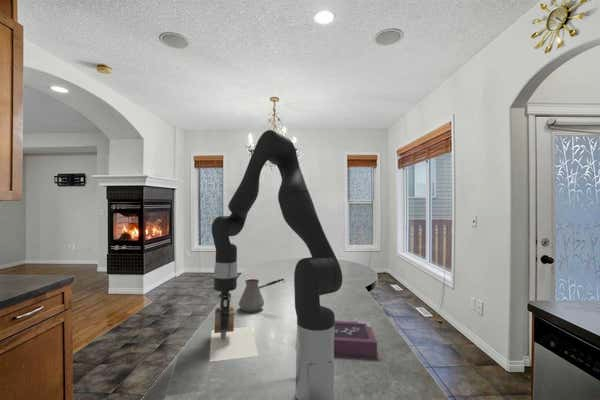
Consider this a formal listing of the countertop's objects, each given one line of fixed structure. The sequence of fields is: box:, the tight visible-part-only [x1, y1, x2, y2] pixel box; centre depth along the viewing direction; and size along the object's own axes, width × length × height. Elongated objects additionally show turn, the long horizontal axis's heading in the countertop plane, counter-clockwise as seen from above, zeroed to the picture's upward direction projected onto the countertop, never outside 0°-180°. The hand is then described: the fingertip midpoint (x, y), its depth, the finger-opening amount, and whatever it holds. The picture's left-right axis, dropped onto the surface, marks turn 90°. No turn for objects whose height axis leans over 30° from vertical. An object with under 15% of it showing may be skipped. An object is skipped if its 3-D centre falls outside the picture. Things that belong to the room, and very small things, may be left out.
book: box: [295, 320, 378, 358], centre depth 97 cm, size 25×16×5 cm, turn 85°
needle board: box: [208, 326, 260, 363], centre depth 93 cm, size 22×14×10 cm, turn 16°
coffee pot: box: [238, 278, 286, 313], centre depth 127 cm, size 21×12×15 cm, turn 75°
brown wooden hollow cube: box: [214, 306, 235, 333], centre depth 95 cm, size 6×6×6 cm
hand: (224, 325), depth 95 cm, fingers closed on brown wooden hollow cube, 6 cm apart
